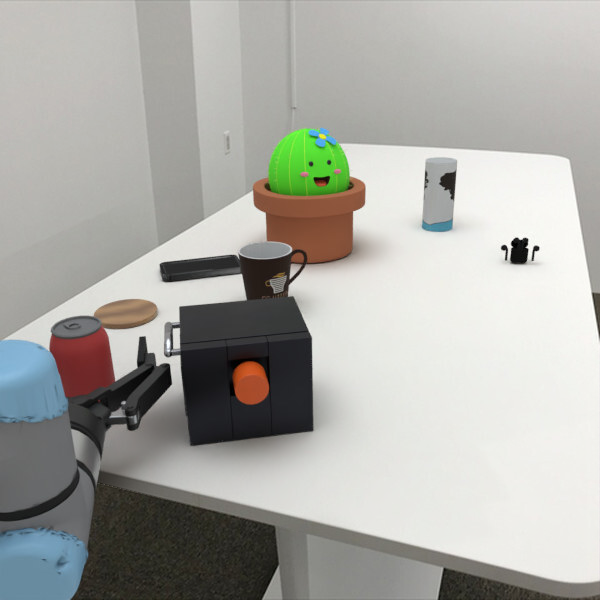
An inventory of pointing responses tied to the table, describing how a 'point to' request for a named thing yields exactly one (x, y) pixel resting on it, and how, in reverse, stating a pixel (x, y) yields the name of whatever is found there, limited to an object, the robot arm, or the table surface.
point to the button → (250, 382)
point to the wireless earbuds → (519, 250)
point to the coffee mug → (267, 269)
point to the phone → (200, 267)
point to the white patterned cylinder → (439, 194)
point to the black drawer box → (232, 352)
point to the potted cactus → (310, 196)
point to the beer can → (82, 354)
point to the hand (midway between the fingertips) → (86, 351)
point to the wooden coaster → (126, 313)
